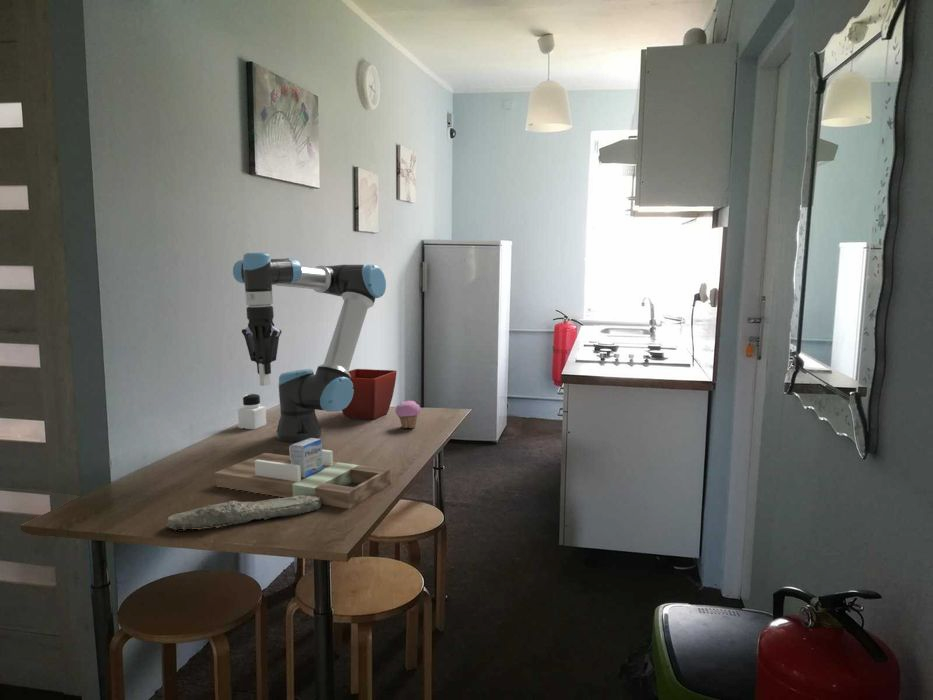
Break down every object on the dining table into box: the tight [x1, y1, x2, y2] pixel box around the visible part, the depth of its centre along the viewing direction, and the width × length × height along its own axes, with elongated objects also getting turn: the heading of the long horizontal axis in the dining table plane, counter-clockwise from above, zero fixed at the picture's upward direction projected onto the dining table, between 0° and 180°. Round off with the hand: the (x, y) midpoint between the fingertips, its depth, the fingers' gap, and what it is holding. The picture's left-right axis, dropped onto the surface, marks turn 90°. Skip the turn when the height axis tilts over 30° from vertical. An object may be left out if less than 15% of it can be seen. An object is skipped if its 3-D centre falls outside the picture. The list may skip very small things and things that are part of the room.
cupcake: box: [395, 400, 421, 429], centre depth 240 cm, size 9×9×10 cm
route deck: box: [214, 452, 392, 510], centre depth 180 cm, size 20×43×4 cm, turn 66°
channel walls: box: [255, 446, 334, 482], centre depth 181 cm, size 15×14×4 cm
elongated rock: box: [166, 495, 322, 531], centre depth 158 cm, size 35×5×10 cm
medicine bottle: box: [237, 393, 267, 430], centre depth 245 cm, size 7×7×12 cm
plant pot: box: [341, 368, 398, 421], centre depth 260 cm, size 19×19×17 cm
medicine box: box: [289, 438, 323, 478], centre depth 178 cm, size 8×4×9 cm, turn 154°
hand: (265, 384), depth 198 cm, fingers closed
